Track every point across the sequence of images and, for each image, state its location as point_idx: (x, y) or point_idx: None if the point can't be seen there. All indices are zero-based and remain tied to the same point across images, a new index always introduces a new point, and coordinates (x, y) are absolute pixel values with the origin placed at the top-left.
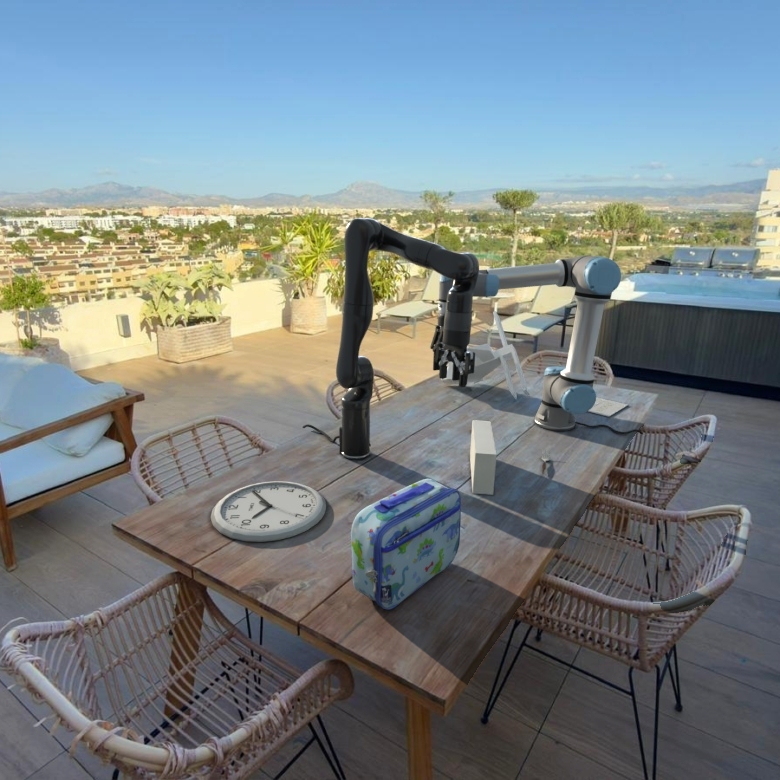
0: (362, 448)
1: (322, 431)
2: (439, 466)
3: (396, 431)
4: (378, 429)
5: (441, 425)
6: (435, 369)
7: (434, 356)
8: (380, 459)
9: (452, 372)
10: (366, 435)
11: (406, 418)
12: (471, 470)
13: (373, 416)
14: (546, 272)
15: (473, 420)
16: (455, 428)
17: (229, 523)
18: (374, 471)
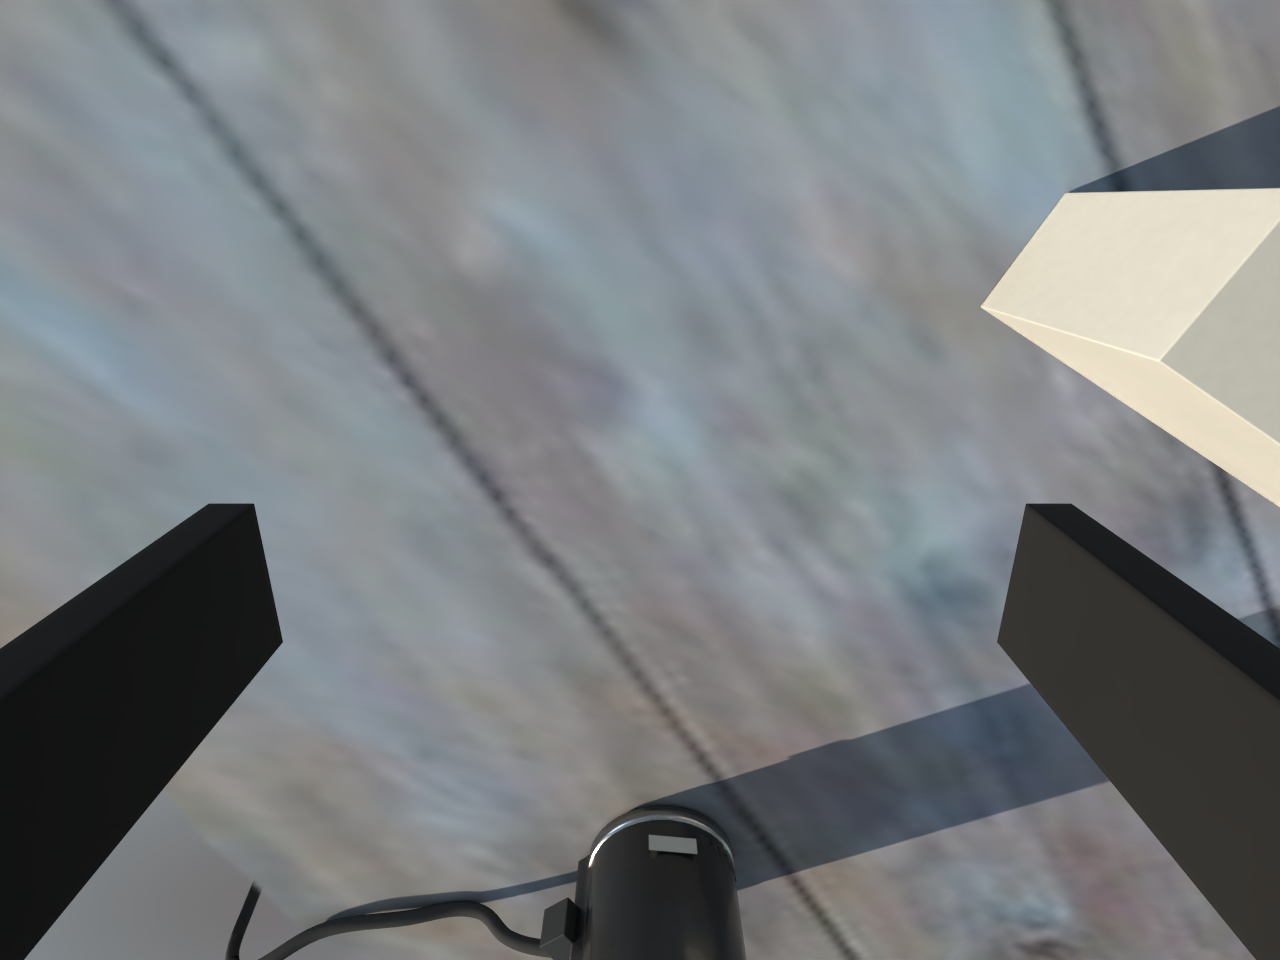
0: (738, 904)
1: (344, 929)
2: (1004, 563)
3: (414, 570)
4: (351, 655)
5: (383, 204)
6: (267, 622)
7: (62, 902)
8: (769, 784)
9: (1086, 747)
10: (740, 953)
11: (171, 403)
12: (1210, 457)
13: None
14: None
15: (1174, 358)
16: (481, 119)
17: None
18: (878, 846)
